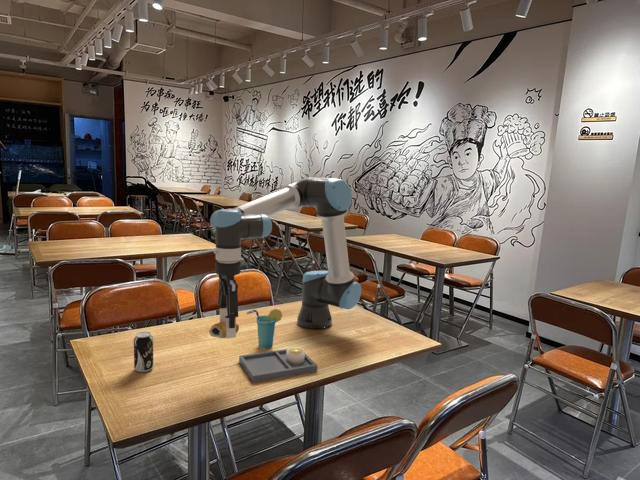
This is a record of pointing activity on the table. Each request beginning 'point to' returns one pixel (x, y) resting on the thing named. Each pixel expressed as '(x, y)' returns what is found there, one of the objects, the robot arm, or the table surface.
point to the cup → (266, 327)
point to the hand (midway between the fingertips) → (227, 332)
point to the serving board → (277, 364)
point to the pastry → (220, 330)
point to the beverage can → (143, 352)
